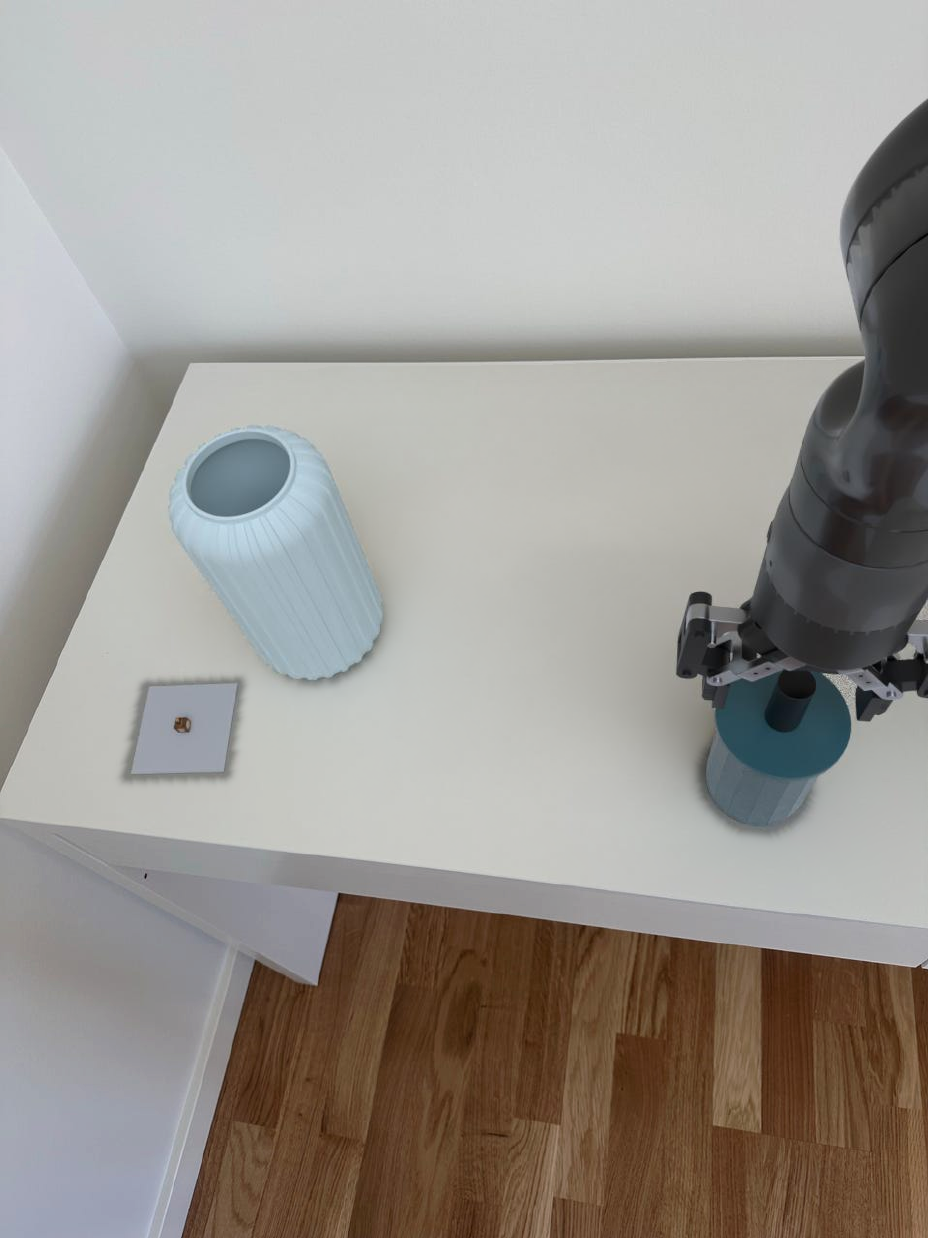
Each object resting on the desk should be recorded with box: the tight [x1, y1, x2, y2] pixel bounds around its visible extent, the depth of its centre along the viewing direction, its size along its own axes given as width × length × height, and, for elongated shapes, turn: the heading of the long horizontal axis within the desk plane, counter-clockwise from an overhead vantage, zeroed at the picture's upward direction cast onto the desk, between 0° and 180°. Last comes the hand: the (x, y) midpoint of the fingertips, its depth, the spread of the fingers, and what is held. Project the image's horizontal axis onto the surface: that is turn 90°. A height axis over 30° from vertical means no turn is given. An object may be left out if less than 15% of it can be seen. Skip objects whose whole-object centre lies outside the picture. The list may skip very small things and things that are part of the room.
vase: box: [167, 424, 384, 681], centre depth 70 cm, size 12×12×22 cm
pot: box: [705, 730, 819, 827], centre depth 64 cm, size 7×7×12 cm
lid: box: [713, 670, 852, 782], centre depth 57 cm, size 8×8×6 cm
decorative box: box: [130, 682, 238, 775], centre depth 76 cm, size 8×8×2 cm
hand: (788, 701), depth 57 cm, fingers open, 8 cm apart
